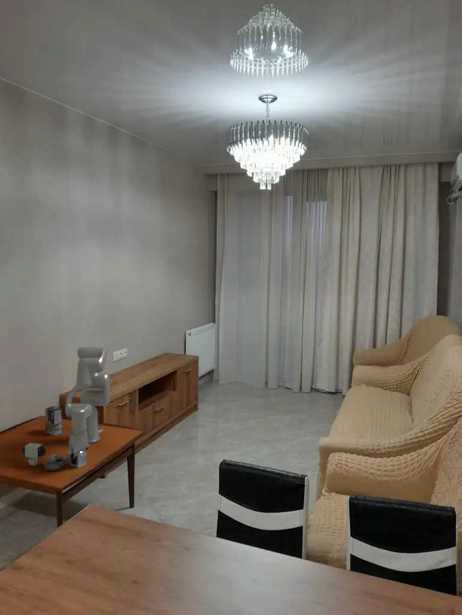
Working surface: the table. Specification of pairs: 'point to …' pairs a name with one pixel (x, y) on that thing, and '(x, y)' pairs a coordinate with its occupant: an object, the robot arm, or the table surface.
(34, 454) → the pneumatic valve
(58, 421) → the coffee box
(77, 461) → the domed grey cube
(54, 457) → the ratchet
